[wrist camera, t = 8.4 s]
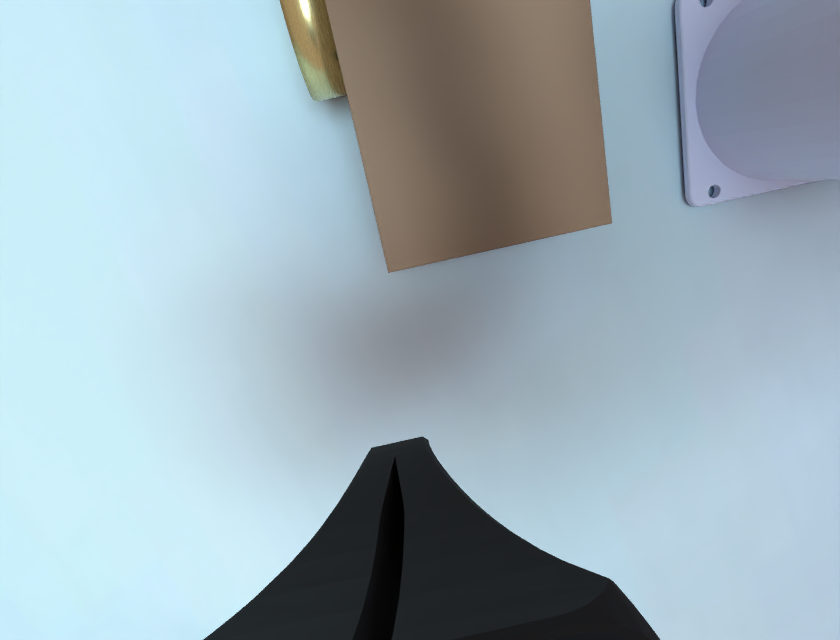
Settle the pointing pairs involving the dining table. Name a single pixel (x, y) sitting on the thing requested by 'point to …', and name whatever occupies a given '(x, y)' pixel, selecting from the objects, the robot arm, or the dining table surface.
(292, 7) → the steel pin
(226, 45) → the dining table surface
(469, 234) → the drawbar beam
